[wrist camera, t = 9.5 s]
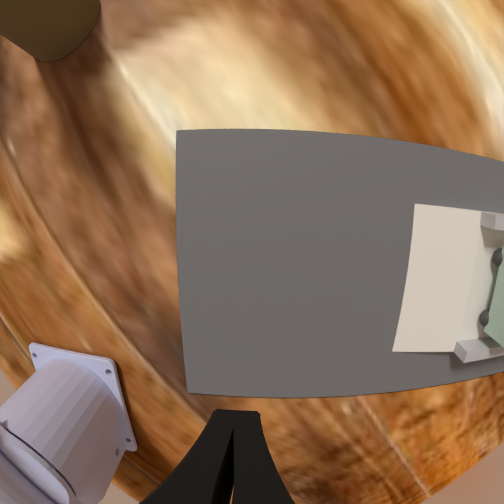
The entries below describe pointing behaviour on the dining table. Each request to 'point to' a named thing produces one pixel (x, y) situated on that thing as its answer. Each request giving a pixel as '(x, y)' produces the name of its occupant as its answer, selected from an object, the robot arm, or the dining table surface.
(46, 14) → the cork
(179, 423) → the dining table surface
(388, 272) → the dock
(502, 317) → the cart
